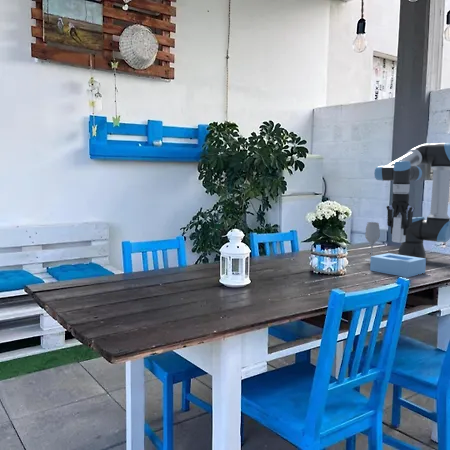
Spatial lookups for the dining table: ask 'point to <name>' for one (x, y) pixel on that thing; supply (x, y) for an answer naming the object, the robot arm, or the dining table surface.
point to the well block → (398, 264)
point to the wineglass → (372, 235)
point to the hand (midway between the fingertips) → (398, 241)
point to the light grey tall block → (397, 229)
